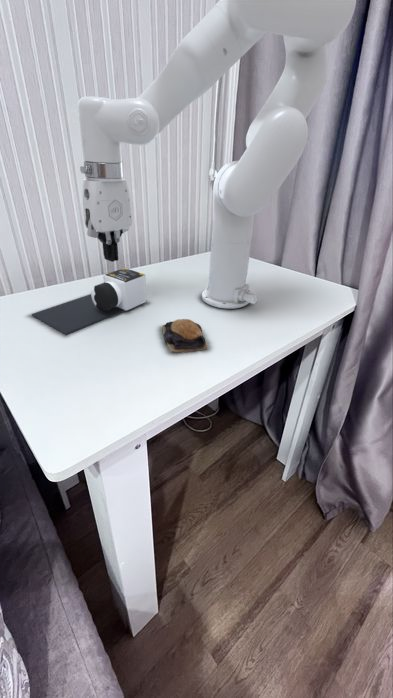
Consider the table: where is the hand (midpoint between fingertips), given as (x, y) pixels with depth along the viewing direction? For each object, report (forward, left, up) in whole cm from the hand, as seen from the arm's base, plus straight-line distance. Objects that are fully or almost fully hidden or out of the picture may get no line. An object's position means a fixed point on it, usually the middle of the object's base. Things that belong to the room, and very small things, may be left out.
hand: (111, 259), depth 78 cm
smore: (-25, +3, -10) cm, 27 cm away
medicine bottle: (-4, -4, -6) cm, 8 cm away
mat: (0, +8, -10) cm, 13 cm away
